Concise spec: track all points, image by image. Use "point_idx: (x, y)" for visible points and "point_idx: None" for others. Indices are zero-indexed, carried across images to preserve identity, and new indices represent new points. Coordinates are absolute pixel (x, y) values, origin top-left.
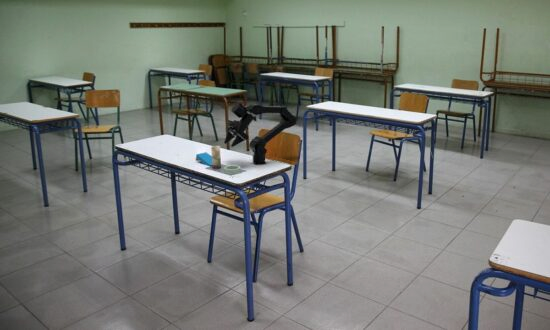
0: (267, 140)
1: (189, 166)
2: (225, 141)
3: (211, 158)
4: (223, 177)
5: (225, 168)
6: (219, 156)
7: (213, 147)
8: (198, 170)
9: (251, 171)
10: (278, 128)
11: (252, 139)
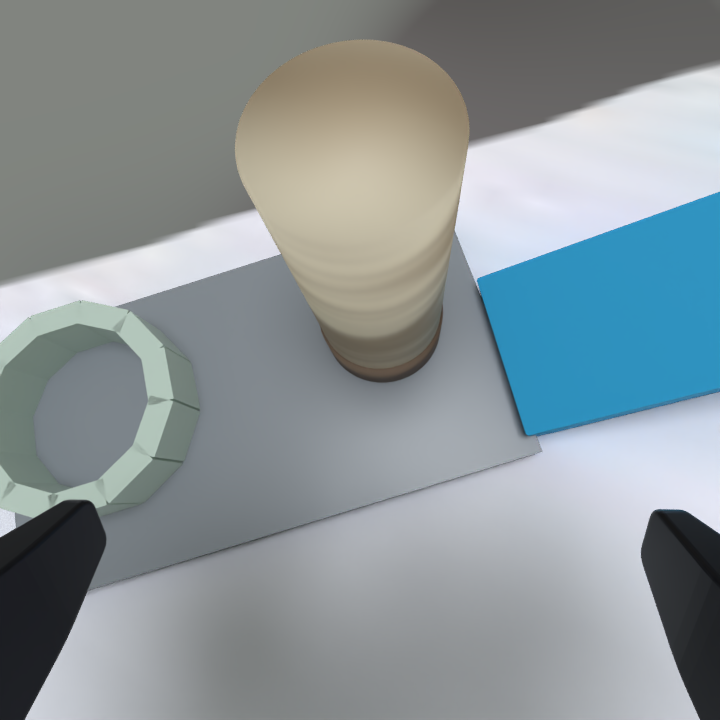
0: None
1: (683, 126)
2: (689, 572)
3: (698, 344)
4: (84, 291)
5: (87, 314)
6: (300, 289)
7: (305, 67)
8: (466, 162)
9: (67, 692)
10: None
11: None
